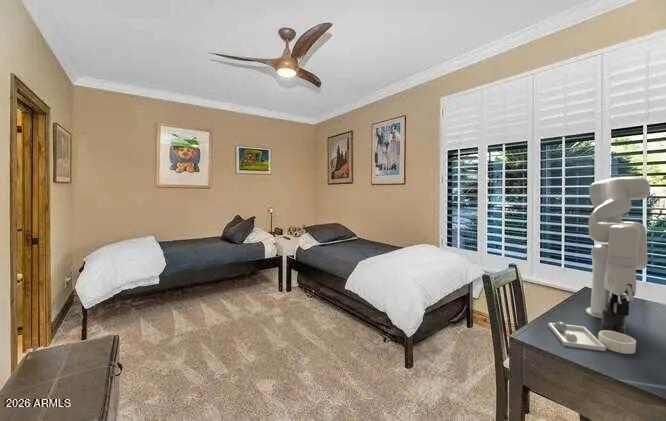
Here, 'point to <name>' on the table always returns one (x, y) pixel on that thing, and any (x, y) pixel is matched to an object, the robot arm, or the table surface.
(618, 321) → the supplement bottle
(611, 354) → the table surface
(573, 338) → the pebble
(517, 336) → the table surface
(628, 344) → the bowl
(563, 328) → the pebble
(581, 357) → the table surface
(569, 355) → the table surface
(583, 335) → the parts tray
